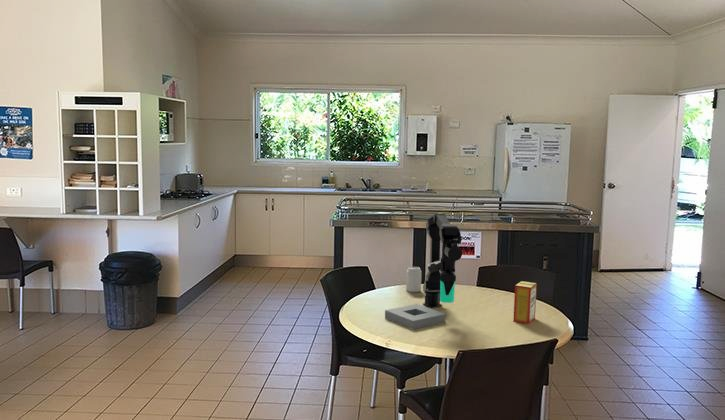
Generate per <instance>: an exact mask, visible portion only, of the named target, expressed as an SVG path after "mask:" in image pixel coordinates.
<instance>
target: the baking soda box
mask: <svg viewBox="0 0 725 420" xmlns="http://www.w3.org/2000/svg"><path fill="white" fill-rule="evenodd" d="M537 284H538V283H537V282H530V281H522V280H521V281H520V282H518V283H517V284H515V285H514V300H513V303H514V304H513V322H514V323H520V324H524V325H525V324H526V325H530V324H531V323H532V322H533V321H534V320H535V319H536V310H537V309H536V306H537V290H538V289H537Z"/></svg>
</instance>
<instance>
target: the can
mask: <svg viewBox="0 0 725 420" xmlns="http://www.w3.org/2000/svg"><path fill="white" fill-rule="evenodd" d="M405 277H406V279H405V283H406V284H405V286H406V287H405V290H406V291H407V292H409V293H419V292H421V290H422V270H421V268H420V267H419V266H408V268H407V270H406V276H405Z"/></svg>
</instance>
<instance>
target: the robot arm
mask: <svg viewBox="0 0 725 420" xmlns="http://www.w3.org/2000/svg"><path fill="white" fill-rule="evenodd" d="M425 230H426V233H427V236H428V237H429V239H430V243H429V246H430V247H429V263H428V264H427V265H426V266H427V269H428V272H427V274H426V275H425V280H424V281H423V286H422V291H423V293H424V294H425V296H424V303H422V306H425V307H428V308H431V309H433V308H438V307H442V306H443V304H441V303H440V302H441V301H440V280H441V281H442V282H443V283H444V287H445V293H446V295H449V293H450V291H451V289H452V286H453V284H454V282H455V283H456V282H457V281H456V280H457V275H456V262H458V261H459V260H460V259H461V258H462V255H463V252H462V249H461V248H460V247H459V246H458V245H461V244H462V234H461V231H460V229H459V227H458V225H456V224H453V223H450V221H449V219H448V218H447V215H446V214H445V213H434V214H433V215H432V216H431V217H429V218H428V219H427V221H426V223H425Z"/></svg>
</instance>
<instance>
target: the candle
mask: <svg viewBox="0 0 725 420" xmlns="http://www.w3.org/2000/svg"><path fill="white" fill-rule="evenodd" d="M455 285H456V281H455V282H454V284H453V286H452V289H451V291H450V293H449V295H446V293H445V287H444V283H443V282H442V281H441V280H440V302H441V303H445V304H446V303H447V304H448V303H449V304H451V303H454V302H455Z"/></svg>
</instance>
